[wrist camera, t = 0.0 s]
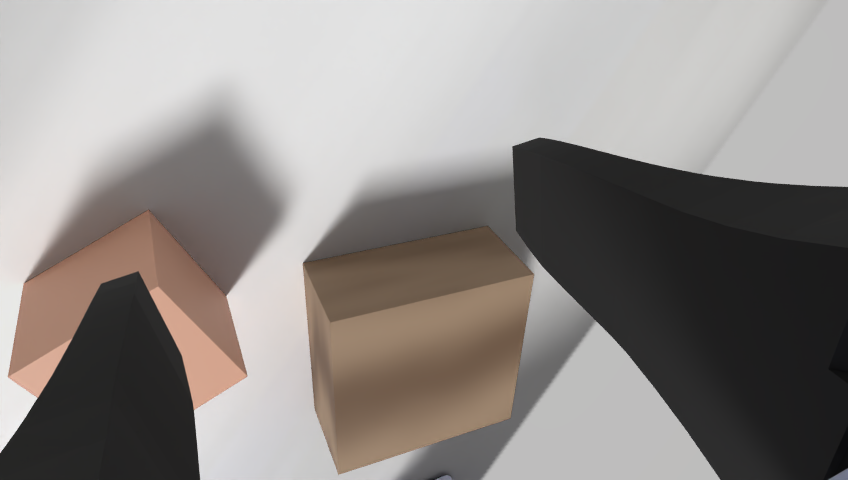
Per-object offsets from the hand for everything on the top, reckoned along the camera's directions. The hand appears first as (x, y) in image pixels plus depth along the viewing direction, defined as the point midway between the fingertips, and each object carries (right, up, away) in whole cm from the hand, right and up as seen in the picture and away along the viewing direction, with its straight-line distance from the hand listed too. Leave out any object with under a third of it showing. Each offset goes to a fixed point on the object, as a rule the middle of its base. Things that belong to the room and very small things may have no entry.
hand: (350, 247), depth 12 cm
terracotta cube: (-9, -2, +10) cm, 13 cm away
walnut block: (0, -3, +16) cm, 16 cm away
